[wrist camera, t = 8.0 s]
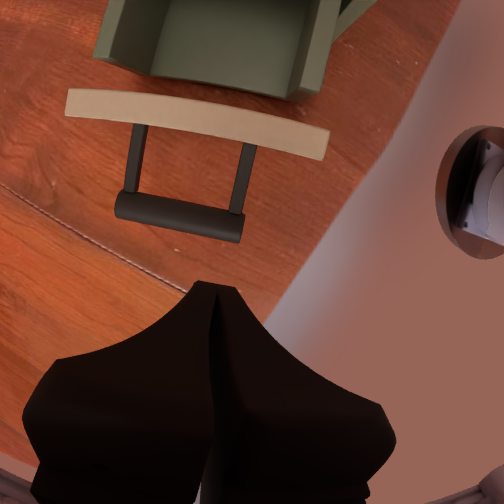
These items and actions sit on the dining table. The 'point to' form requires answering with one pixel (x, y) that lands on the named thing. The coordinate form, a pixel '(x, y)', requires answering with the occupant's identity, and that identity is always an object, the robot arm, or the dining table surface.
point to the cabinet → (350, 14)
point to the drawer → (212, 73)
